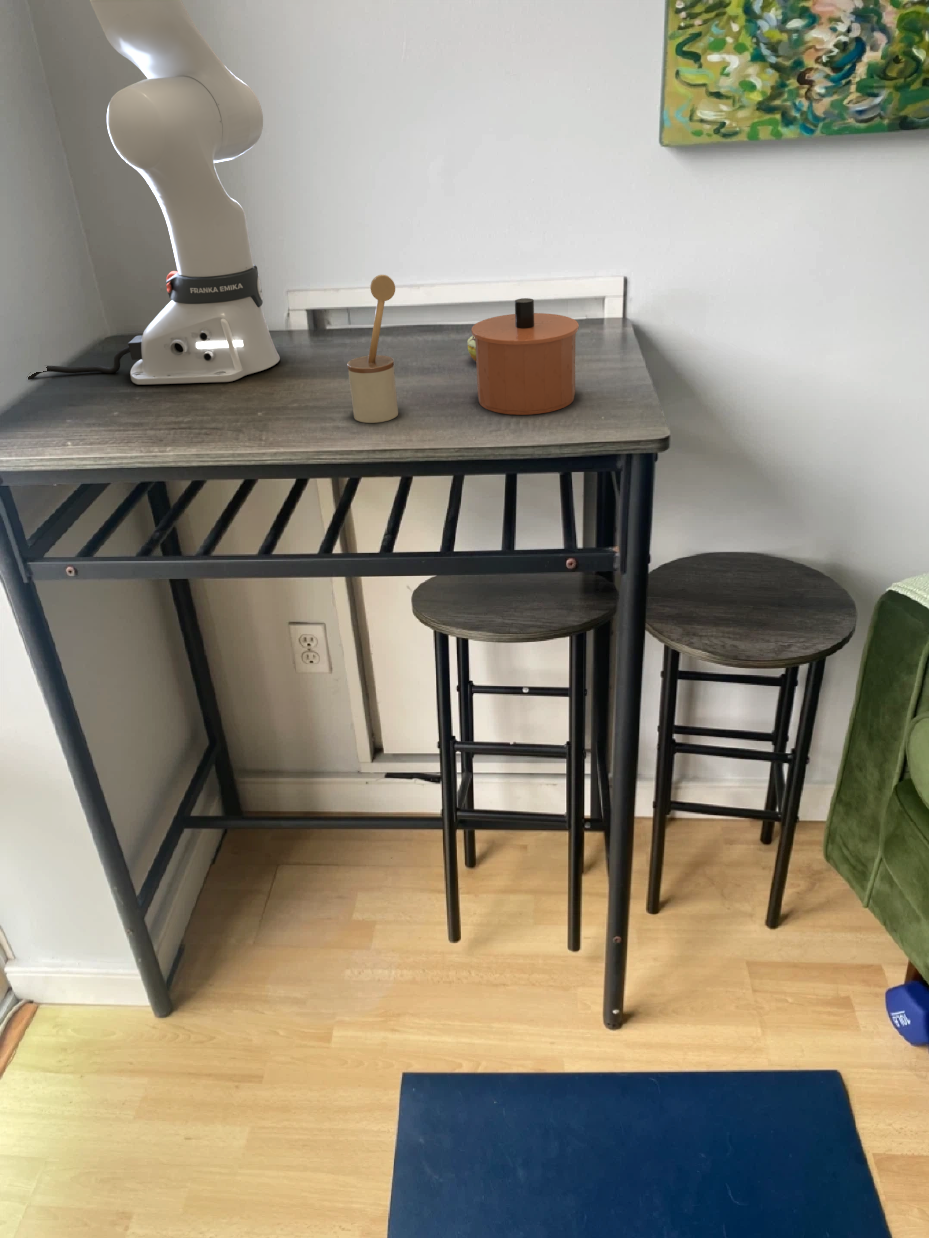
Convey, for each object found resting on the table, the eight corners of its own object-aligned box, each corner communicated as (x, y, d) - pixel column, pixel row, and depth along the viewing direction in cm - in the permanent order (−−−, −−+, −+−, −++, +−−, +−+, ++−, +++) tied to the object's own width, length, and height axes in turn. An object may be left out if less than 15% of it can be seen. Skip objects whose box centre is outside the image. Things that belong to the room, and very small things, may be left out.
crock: (353, 425, 120) (336, 284, 111) (353, 410, 125) (336, 274, 116) (407, 420, 120) (395, 279, 111) (404, 405, 125) (392, 269, 116)
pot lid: (479, 354, 114) (477, 317, 112) (465, 326, 126) (464, 293, 123) (589, 344, 115) (590, 308, 113) (566, 317, 127) (566, 284, 124)
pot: (486, 419, 119) (482, 347, 114) (473, 388, 130) (469, 322, 125) (583, 409, 120) (584, 338, 115) (563, 380, 131) (563, 314, 126)
